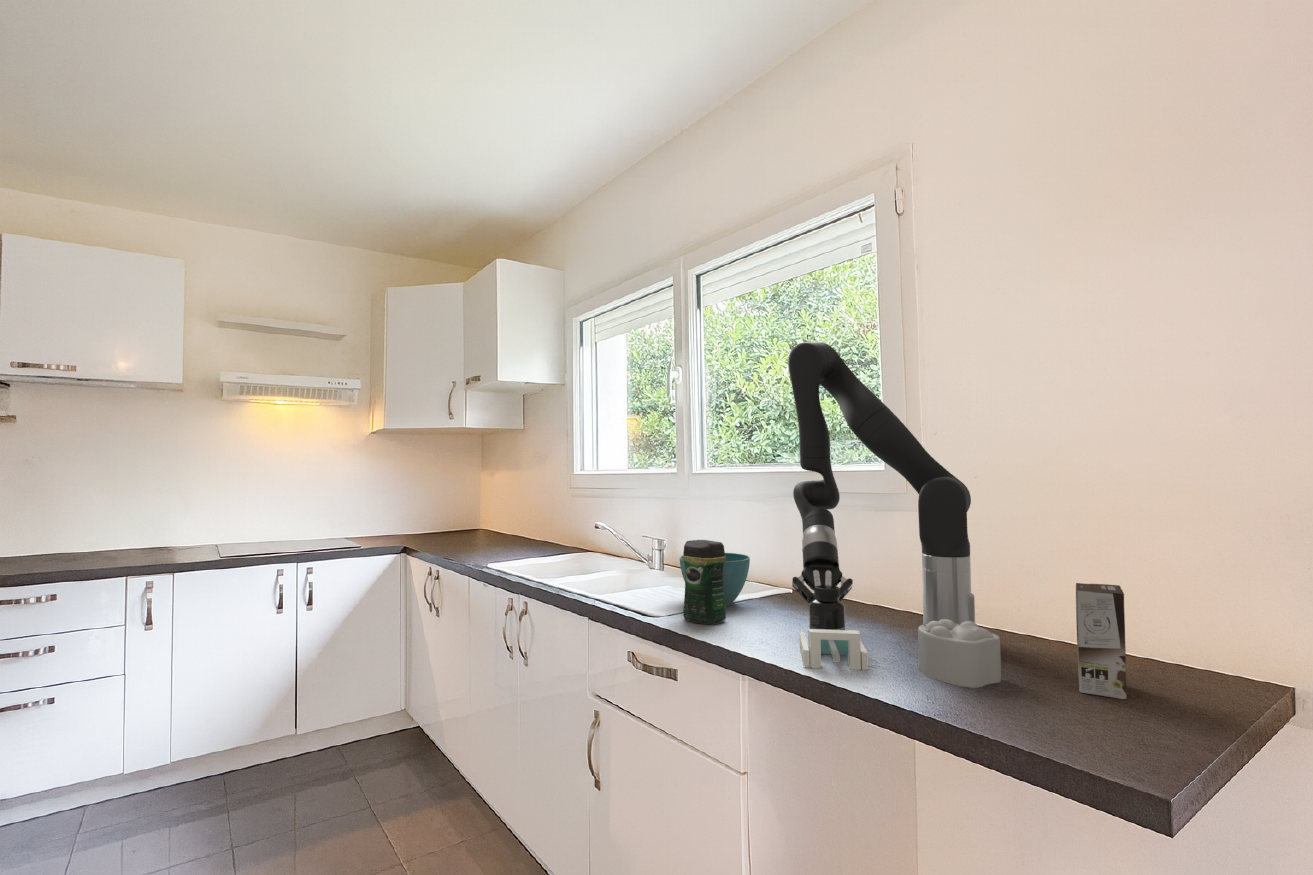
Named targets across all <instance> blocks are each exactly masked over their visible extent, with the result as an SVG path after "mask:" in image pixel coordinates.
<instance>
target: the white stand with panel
mask: <svg viewBox="0 0 1313 875" xmlns="http://www.w3.org/2000/svg"><path fill="white" fill-rule="evenodd" d="M808 630H809V632H808V639H807V637H806V632H802V631H799V651H800V654H801V660H802V665H803V666H802V667H804V666H805V667H804V668H811V667H815V668H814V669H821V668H822V655H821V654H822V653H821V639H824V640H848V654H847V660H848V664H847V665H848V668H849V670H860V671H861V670H862V671H868V670H869V662H868V660H869V659H868V657H869V656H868V655H869V652H868V651H867V649H866V647H865V645H864V643H863V642H862V640H861V632H860V631H859V630H848V629H845V630H826V629H808ZM807 640H808V641H807ZM809 651H810V653H809Z"/></svg>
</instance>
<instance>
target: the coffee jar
mask: <svg viewBox="0 0 1313 875" xmlns="http://www.w3.org/2000/svg"><path fill="white" fill-rule="evenodd" d="M725 553H726V552H725V545H724V543H723V542H721V541H714V540H708V539H694V540H687V541H686V542H685V543H684V545H683V553H682V555H683V559H684V563H685V581H684V600H683V618H684V620H686V621H689V622H691V623H697V624H703V625H706V624H708V625H709V624H714V625H717V624H720V623H722V622H723V621H726V618H727V617H726V616H727V613H726V611H727V610H726V607H725V598H724V585H723V565H724V561H725Z"/></svg>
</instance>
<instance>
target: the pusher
mask: <svg viewBox="0 0 1313 875" xmlns="http://www.w3.org/2000/svg"><path fill="white" fill-rule="evenodd" d="M808 633H809V629H808ZM809 654H810V651H809ZM821 654H826V655H827V654H830V655H831V657H832V659H833V662H841V655H848V640H824V639H821Z"/></svg>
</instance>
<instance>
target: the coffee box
mask: <svg viewBox="0 0 1313 875" xmlns="http://www.w3.org/2000/svg"><path fill="white" fill-rule="evenodd" d="M1075 612H1076V613H1075V616H1076V620H1075V622H1076V645H1077V646H1076V647H1077V650H1076V651H1077V653H1076V654H1077V671H1078V672H1077V674H1078V690H1079V691H1078V692H1080V693H1081V694H1087V695H1094V696H1101V697H1106V698H1107V697H1108V698H1114V699H1120V700H1127V661H1126V660H1127V657H1126V656H1127V654H1126V619H1125V618H1126V616H1125V593H1124V591H1123V589H1122V587H1121V586H1120V585H1117V584H1107V583H1106V584H1105V583H1081V582H1076V583H1075Z"/></svg>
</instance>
